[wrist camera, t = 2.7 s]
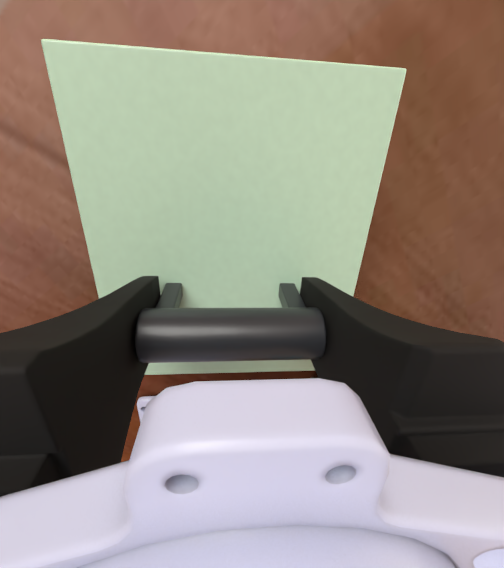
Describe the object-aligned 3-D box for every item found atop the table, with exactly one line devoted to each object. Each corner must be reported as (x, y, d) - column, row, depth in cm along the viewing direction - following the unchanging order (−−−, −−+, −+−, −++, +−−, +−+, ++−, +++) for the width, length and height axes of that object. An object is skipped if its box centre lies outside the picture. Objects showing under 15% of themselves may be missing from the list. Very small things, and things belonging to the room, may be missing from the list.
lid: (331, 360, 16) (371, 443, 12) (121, 365, 15) (76, 459, 10) (395, 73, 10) (529, 17, 6) (53, 46, 9) (-116, -50, 5)
